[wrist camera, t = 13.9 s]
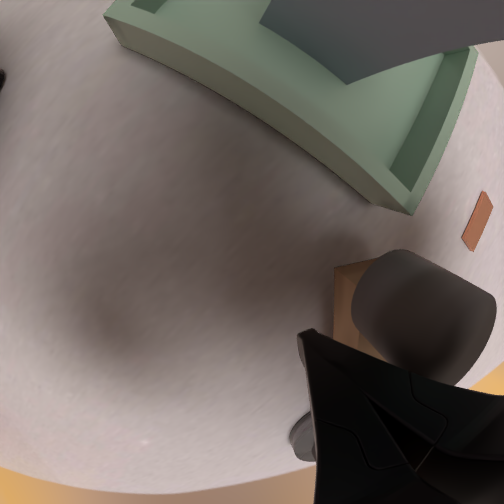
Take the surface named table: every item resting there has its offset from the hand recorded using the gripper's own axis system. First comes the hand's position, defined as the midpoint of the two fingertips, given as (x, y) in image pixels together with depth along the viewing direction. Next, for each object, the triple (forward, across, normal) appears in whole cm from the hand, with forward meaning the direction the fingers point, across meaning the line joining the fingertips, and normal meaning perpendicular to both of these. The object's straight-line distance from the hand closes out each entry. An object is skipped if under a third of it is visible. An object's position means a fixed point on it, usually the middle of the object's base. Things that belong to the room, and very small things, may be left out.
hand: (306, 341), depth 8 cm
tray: (+4, -4, -10) cm, 12 cm away
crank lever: (+2, -3, +6) cm, 7 cm away
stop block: (+3, -4, -10) cm, 11 cm away
